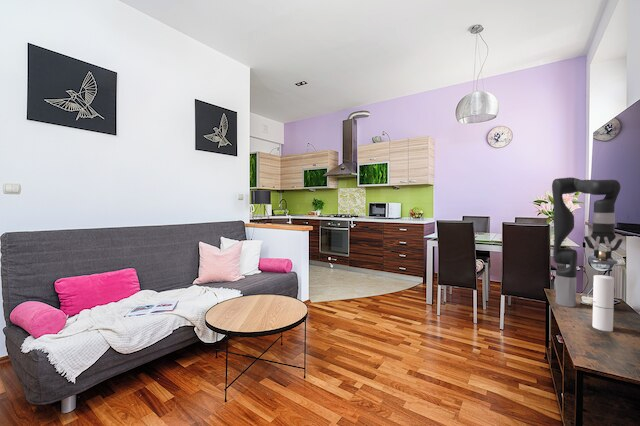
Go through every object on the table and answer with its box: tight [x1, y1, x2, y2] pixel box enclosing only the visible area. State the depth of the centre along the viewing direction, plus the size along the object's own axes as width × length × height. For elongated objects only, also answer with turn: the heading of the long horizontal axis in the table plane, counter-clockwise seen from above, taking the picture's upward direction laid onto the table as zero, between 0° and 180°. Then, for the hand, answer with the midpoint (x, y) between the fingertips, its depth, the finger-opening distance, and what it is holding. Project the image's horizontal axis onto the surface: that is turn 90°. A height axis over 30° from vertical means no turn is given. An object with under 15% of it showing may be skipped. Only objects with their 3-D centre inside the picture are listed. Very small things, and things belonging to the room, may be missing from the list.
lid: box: [587, 250, 618, 266], centre depth 139 cm, size 10×10×5 cm
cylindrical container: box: [591, 274, 615, 332], centre depth 141 cm, size 7×7×25 cm
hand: (602, 258), depth 139 cm, fingers closed on lid, 3 cm apart
